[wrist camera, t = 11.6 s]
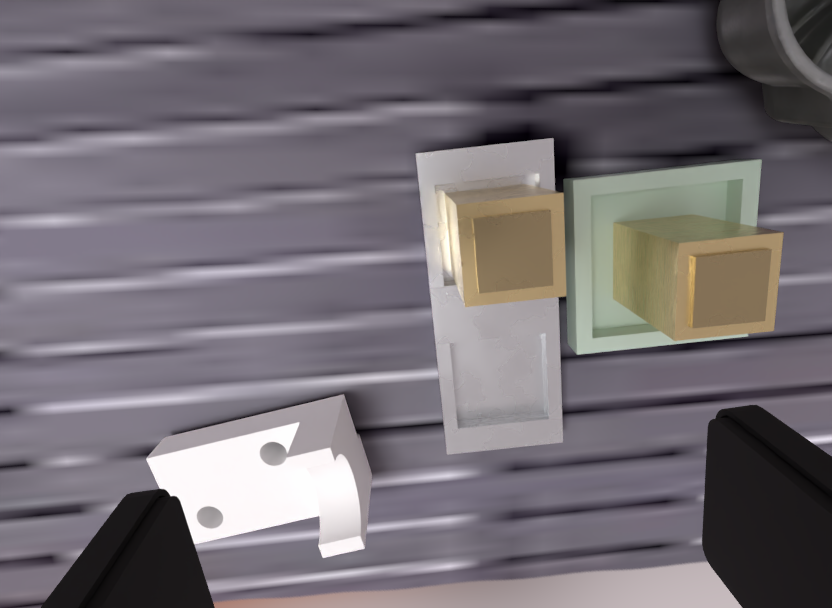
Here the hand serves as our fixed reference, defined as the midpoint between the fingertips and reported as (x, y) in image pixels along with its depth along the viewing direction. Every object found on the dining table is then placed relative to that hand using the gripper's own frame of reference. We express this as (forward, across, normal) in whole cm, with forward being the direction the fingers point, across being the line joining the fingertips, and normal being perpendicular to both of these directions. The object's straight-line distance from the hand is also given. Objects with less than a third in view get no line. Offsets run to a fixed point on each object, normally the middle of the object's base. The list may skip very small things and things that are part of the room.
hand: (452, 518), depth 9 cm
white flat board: (+25, -5, +4) cm, 26 cm away
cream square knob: (+24, -5, -1) cm, 25 cm away
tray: (+24, -16, +3) cm, 29 cm away
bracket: (+26, +12, +14) cm, 31 cm away
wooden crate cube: (+24, -16, +3) cm, 29 cm away
